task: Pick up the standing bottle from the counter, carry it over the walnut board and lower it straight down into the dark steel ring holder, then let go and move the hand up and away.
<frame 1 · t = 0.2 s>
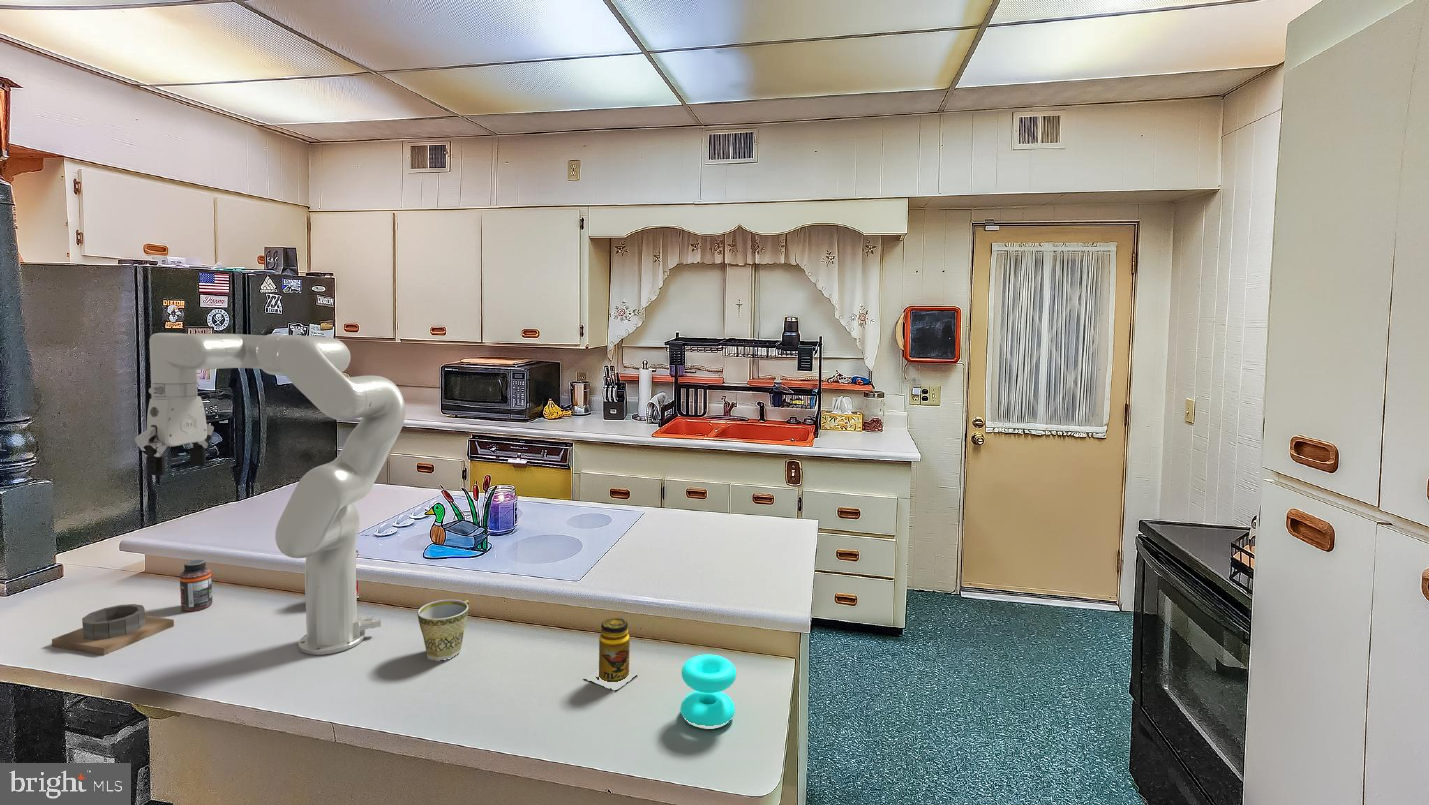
hand: (178, 470, 140), 37 cm above the worktop, tool pointing down, fingers open, 9 cm apart
supplement bottle: (197, 607, 157), on the worktop
condiment: (610, 678, 131), on the worktop
ring holder: (115, 635, 141), on the worktop
soda can: (347, 599, 164), on the worktop
ceramic cup: (448, 651, 140), on the worktop
donuts: (707, 717, 119), on the worktop
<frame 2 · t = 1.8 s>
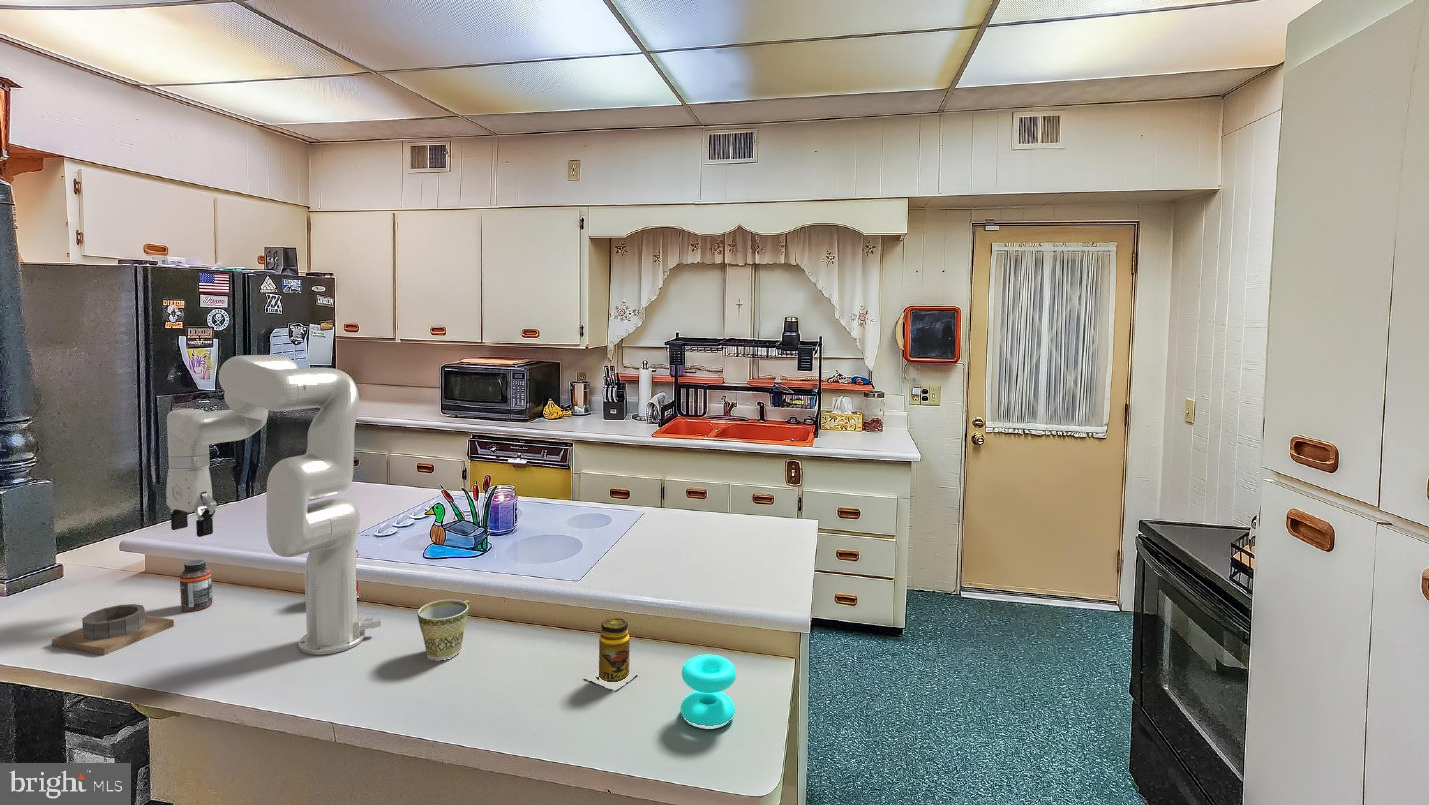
hand: (192, 531, 155), 19 cm above the worktop, tool pointing down, fingers open, 9 cm apart
nothing on the worktop moved.
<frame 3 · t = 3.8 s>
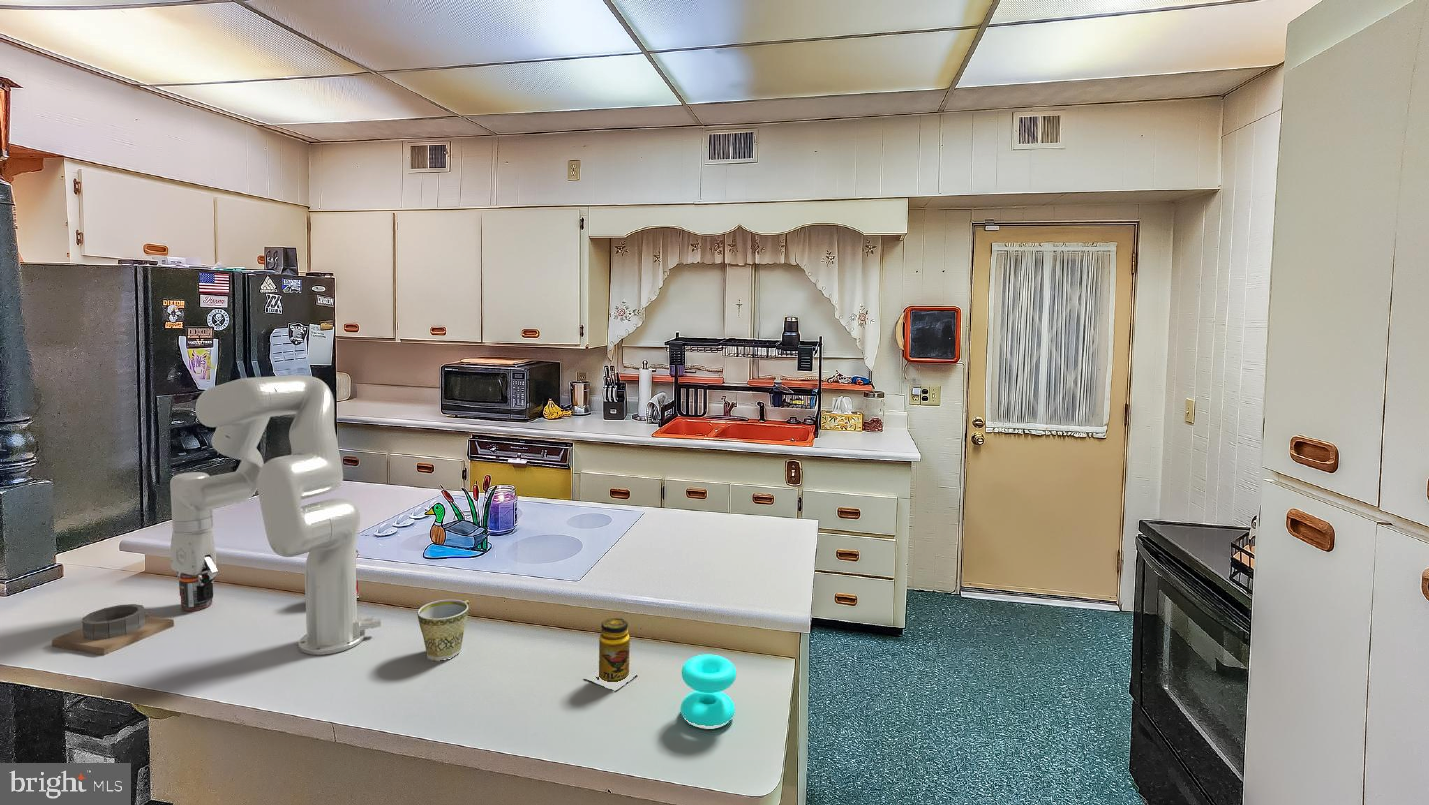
hand: (196, 596, 156), 3 cm above the worktop, tool pointing down, fingers closed on supplement bottle, 6 cm apart
supplement bottle: (197, 607, 157), on the worktop, touching gripper
everything else where it was.
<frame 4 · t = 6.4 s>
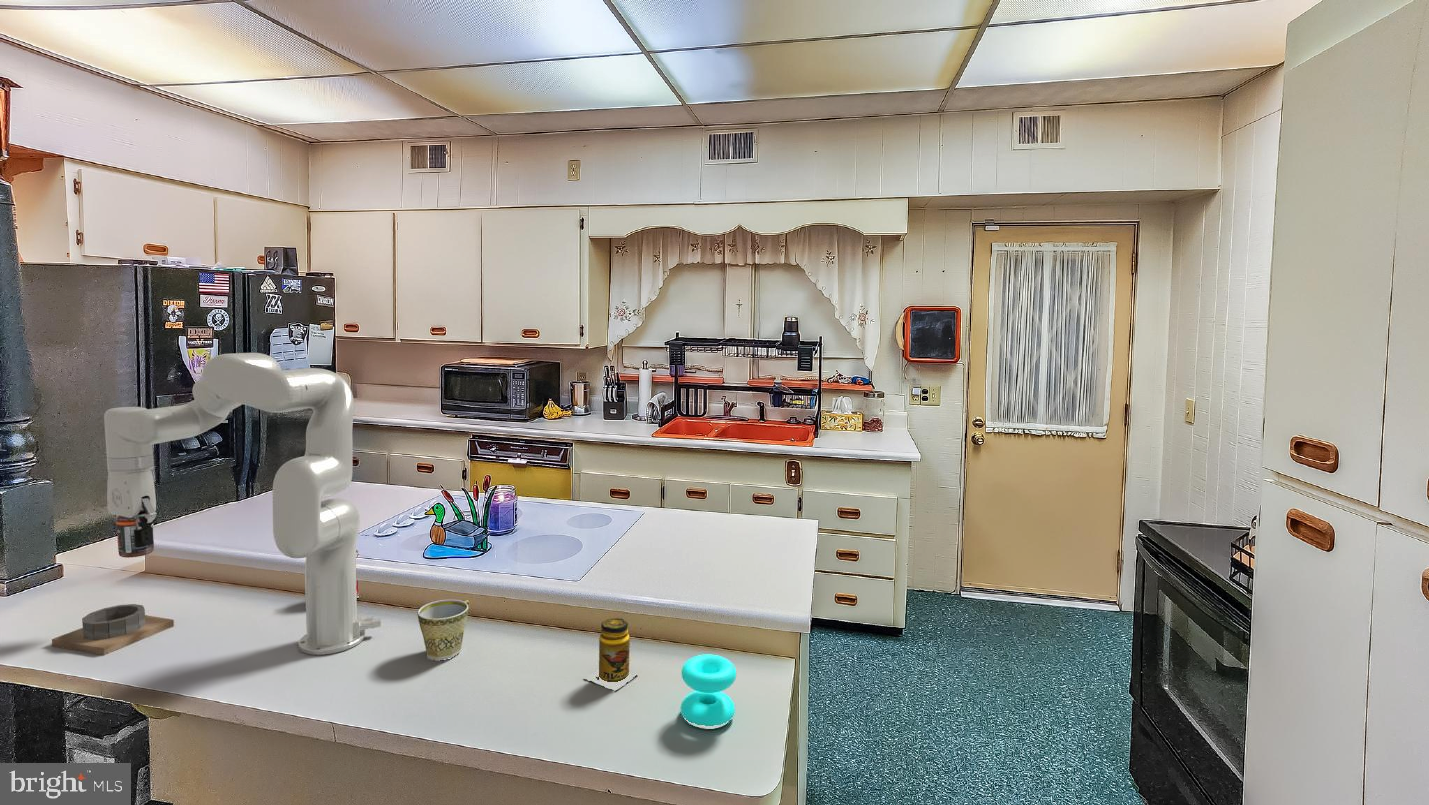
hand: (135, 542, 144), 19 cm above the worktop, tool pointing down, fingers closed on supplement bottle, 6 cm apart
supplement bottle: (136, 554, 144), point 17 cm above the worktop, touching gripper
everything else where it was.
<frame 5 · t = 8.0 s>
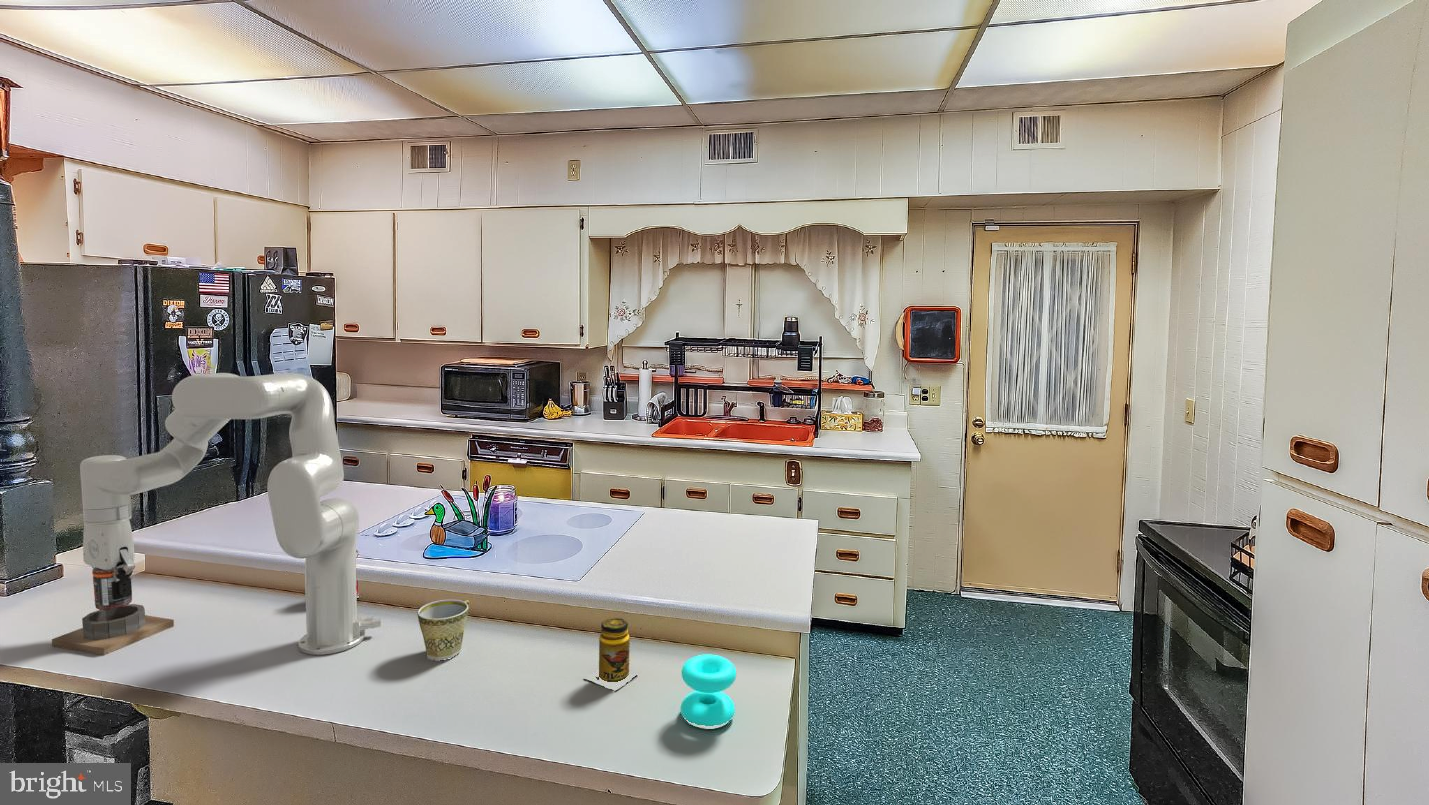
hand: (113, 593, 140), 9 cm above the worktop, tool pointing down, fingers closed on supplement bottle, 6 cm apart
supplement bottle: (114, 606, 141), point 7 cm above the worktop, touching gripper
everything else where it was.
when the fingers open (6 cm above the worktop, at t = 9.2 s): supplement bottle drops 2 cm, resting on ring holder.
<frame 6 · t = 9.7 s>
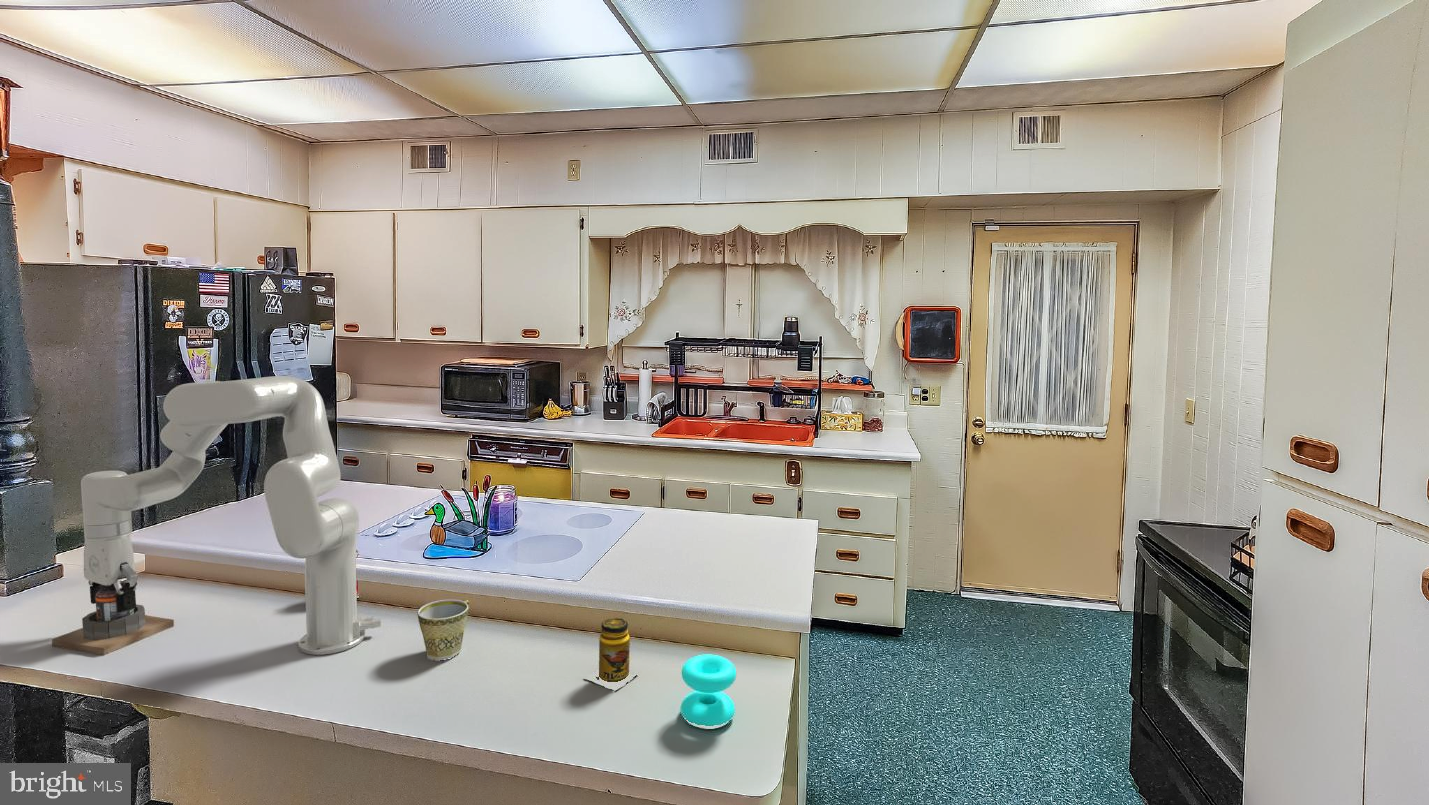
hand: (113, 605, 141), 7 cm above the worktop, tool pointing down, fingers open, 9 cm apart
supplement bottle: (116, 630, 141), point 1 cm above the worktop, touching ring holder
everything else where it was.
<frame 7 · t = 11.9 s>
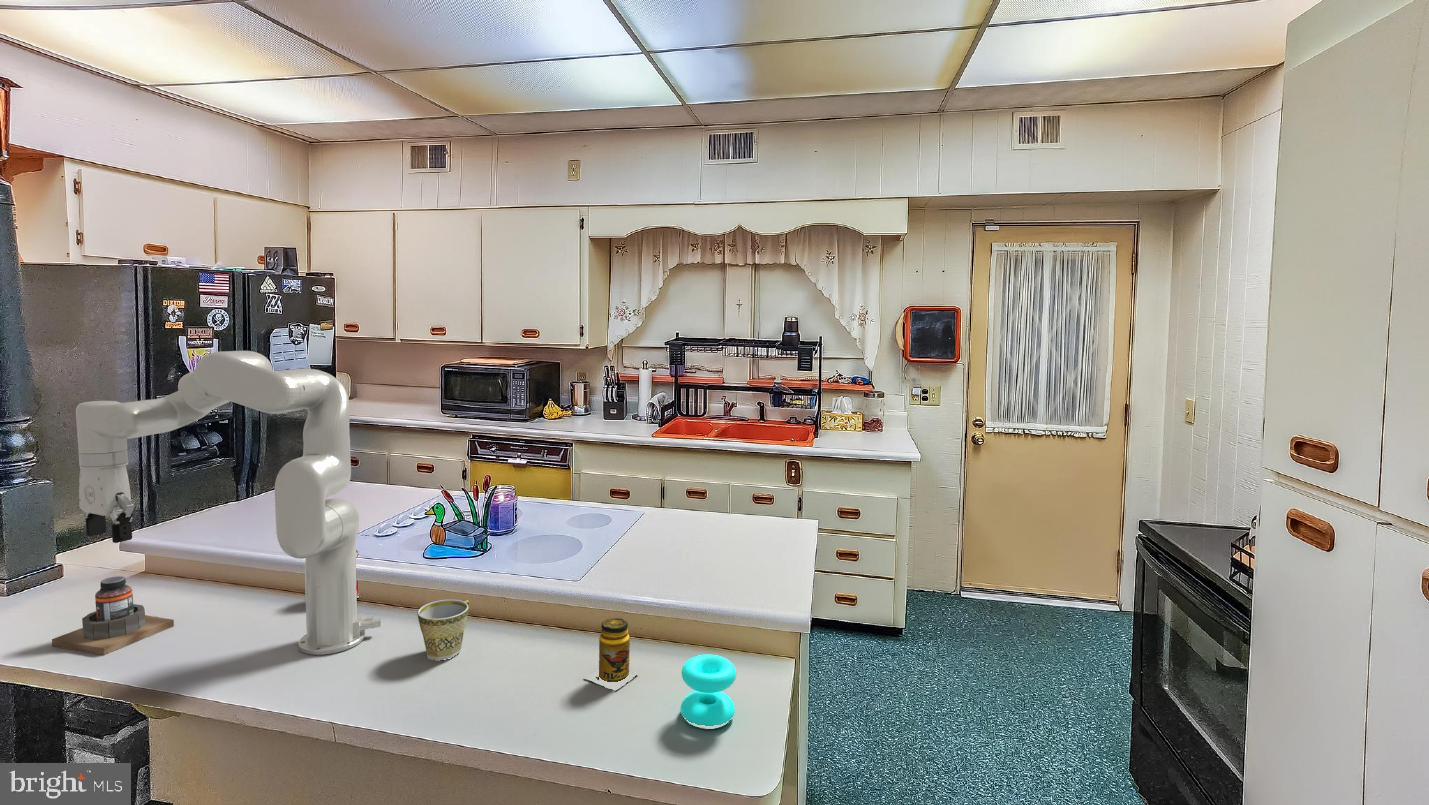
hand: (109, 537, 139), 22 cm above the worktop, tool pointing down, fingers open, 9 cm apart
nothing on the worktop moved.
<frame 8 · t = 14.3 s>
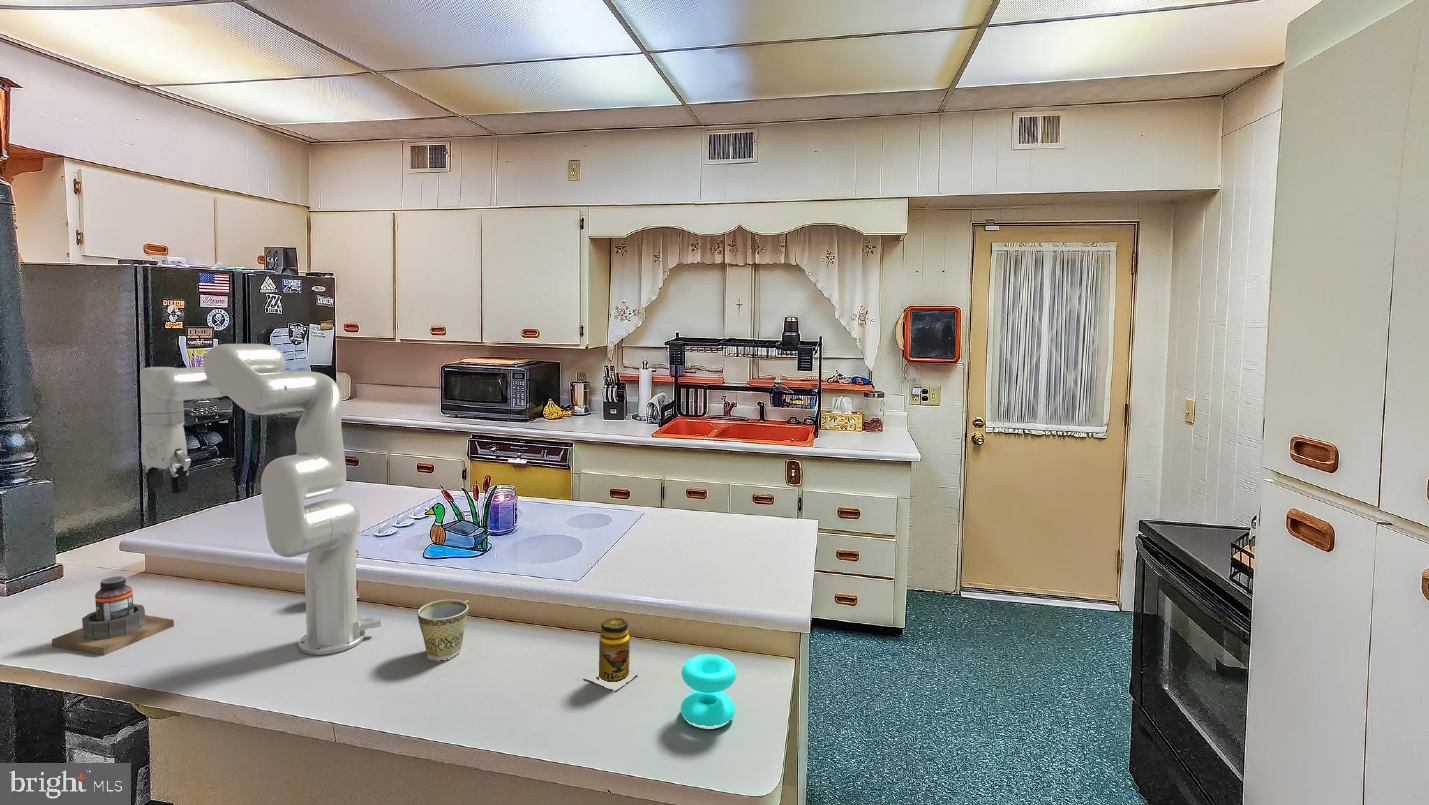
hand: (167, 489, 155), 28 cm above the worktop, tool pointing down, fingers open, 9 cm apart
nothing on the worktop moved.
at the end: supplement bottle 0.4 cm off-centre on the ring holder, point 1.3 cm above the ring holder's base; supplement bottle tilted 0°; the gripper is holding nothing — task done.
